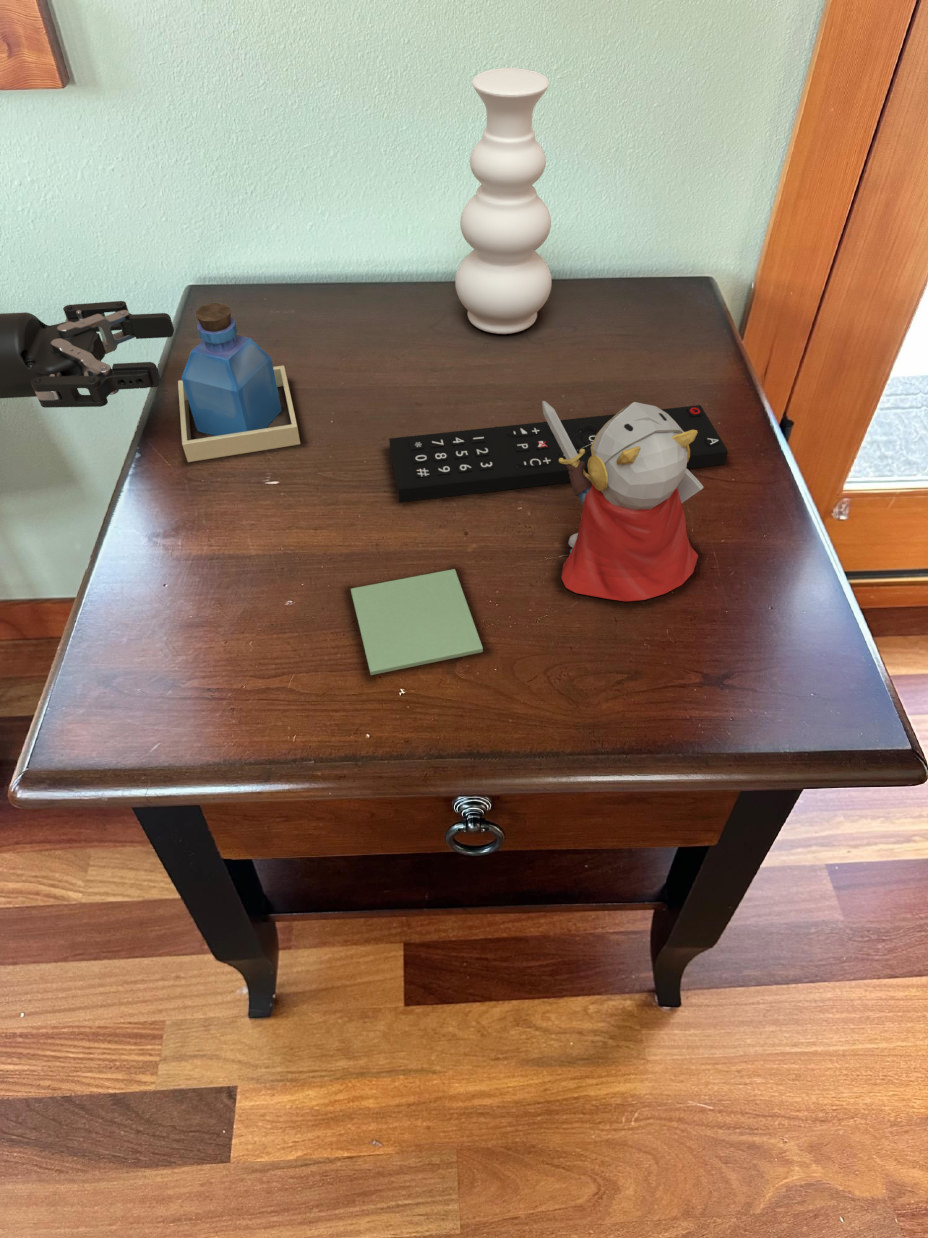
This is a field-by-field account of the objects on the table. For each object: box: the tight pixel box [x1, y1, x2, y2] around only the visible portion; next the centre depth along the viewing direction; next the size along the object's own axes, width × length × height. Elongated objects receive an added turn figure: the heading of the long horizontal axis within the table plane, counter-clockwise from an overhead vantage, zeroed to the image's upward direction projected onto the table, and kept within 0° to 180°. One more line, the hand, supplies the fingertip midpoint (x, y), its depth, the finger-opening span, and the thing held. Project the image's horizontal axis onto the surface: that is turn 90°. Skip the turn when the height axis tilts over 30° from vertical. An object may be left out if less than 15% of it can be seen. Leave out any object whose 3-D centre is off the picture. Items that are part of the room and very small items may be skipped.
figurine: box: [541, 400, 704, 603], centre depth 67 cm, size 13×12×15 cm
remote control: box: [388, 404, 729, 503], centre depth 81 cm, size 8×32×2 cm, turn 100°
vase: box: [454, 67, 553, 335], centre depth 89 cm, size 11×11×25 cm
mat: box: [350, 568, 484, 676], centre depth 68 cm, size 9×9×1 cm
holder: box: [177, 365, 301, 463], centre depth 85 cm, size 11×11×2 cm
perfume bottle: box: [181, 302, 283, 436], centre depth 81 cm, size 6×6×12 cm
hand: (165, 348), depth 79 cm, fingers open, 8 cm apart
